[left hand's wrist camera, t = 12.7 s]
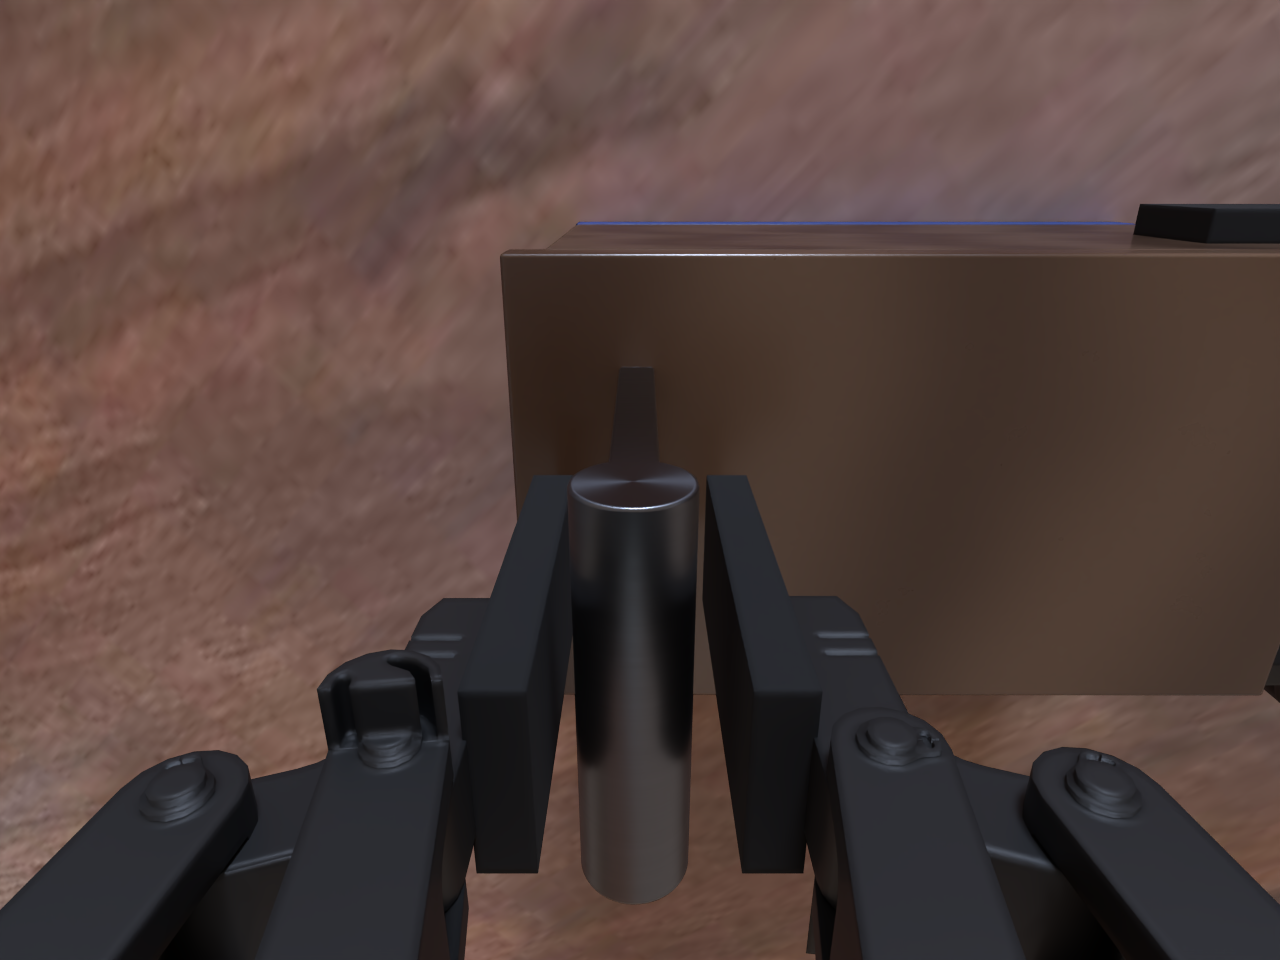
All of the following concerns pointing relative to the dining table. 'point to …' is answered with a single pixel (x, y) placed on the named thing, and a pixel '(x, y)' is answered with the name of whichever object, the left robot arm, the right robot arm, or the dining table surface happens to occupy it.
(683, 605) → the lid
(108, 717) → the dining table surface
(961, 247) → the chest
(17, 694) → the dining table surface
